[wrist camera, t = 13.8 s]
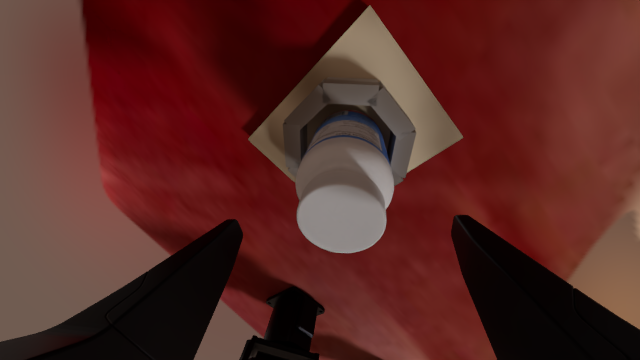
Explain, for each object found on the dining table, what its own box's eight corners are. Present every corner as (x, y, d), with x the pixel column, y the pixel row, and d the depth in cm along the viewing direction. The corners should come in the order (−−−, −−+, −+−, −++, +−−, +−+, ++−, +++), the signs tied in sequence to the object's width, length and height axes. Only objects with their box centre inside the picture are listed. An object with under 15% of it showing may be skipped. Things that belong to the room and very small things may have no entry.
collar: (334, 211, 24) (330, 236, 21) (252, 135, 20) (234, 151, 18) (458, 132, 18) (478, 151, 15) (369, 6, 14) (371, -1, 12)
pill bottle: (367, 178, 20) (372, 277, 12) (308, 160, 20) (271, 246, 12) (395, 119, 17) (428, 196, 9) (325, 97, 17) (293, 153, 9)
